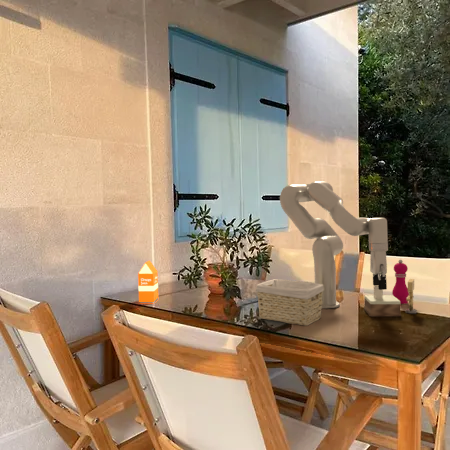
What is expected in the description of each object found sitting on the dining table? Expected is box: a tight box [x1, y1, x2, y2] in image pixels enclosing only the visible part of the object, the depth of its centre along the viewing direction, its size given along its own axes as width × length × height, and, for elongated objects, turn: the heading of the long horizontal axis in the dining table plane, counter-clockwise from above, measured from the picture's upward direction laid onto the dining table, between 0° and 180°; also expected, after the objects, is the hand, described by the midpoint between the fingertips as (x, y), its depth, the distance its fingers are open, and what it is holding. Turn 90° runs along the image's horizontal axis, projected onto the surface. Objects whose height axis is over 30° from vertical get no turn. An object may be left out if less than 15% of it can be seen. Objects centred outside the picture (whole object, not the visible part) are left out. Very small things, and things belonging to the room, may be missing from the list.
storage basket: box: [255, 278, 324, 327], centre depth 189 cm, size 24×16×15 cm
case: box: [363, 298, 402, 317], centre depth 196 cm, size 12×12×5 cm
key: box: [407, 278, 415, 310], centre depth 194 cm, size 12×2×12 cm, turn 153°
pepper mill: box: [391, 259, 409, 305], centre depth 214 cm, size 7×7×20 cm
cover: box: [364, 285, 401, 305], centre depth 196 cm, size 12×12×6 cm
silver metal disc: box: [405, 308, 418, 315], centre depth 195 cm, size 4×4×1 cm
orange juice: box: [137, 260, 159, 303], centre depth 229 cm, size 8×9×20 cm
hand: (379, 287), depth 196 cm, fingers open, 9 cm apart
